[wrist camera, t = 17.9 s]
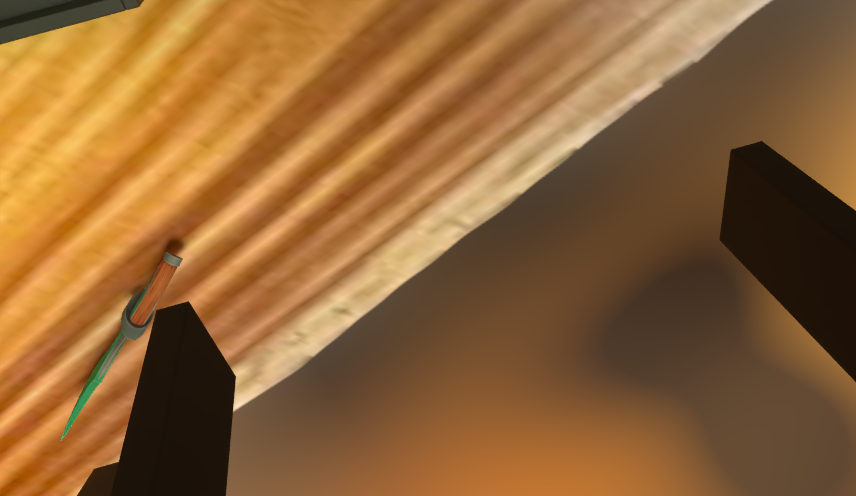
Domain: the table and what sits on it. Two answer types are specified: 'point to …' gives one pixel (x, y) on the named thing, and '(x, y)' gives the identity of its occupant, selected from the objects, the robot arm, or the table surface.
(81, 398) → the knife
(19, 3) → the tray
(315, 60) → the table surface
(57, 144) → the table surface
